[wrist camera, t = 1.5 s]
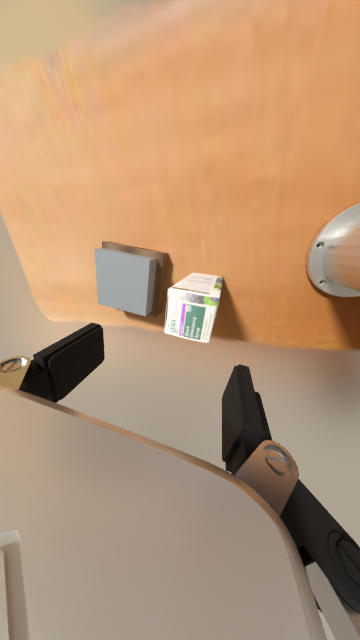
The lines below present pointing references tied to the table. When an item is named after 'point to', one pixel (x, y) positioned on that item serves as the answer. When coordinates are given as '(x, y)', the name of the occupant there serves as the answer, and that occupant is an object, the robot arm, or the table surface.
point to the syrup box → (193, 307)
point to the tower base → (160, 269)
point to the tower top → (125, 280)
